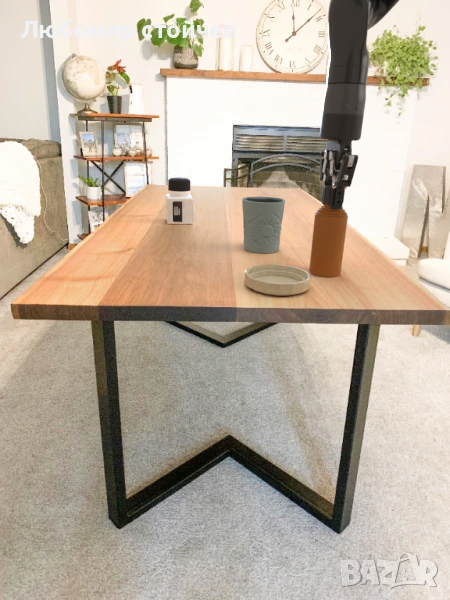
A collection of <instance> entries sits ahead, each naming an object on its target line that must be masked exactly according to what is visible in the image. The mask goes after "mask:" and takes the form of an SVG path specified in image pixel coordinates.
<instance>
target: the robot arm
mask: <svg viewBox="0 0 450 600" xmlns="http://www.w3.org/2000/svg"><path fill="white" fill-rule="evenodd" d="M399 1H400V0H329V7H328V12H327V32H328V33H327V35H328V36H327V37H328V39H327V40H328V51H329V56H328V57H329V59H328V65H327V72H326V73H327V75H326V84H325V90H324V94H323V100H322V106H321V107H322V108H321V117H320V127H319V138H320V139H321V140H325V141H326V140H327V142H326V147H325V150H320V151H319V181H320V182H322V186H323V187H324V186H325V185H332V188H333V189H332V193H331V201H330V208H332V209H341V208H342V207H343V204H344V202H343V196H344V197H345V194H344V189H345V190H347V188H351V186H352V182H353V178H354V176H355V172H356V169H357V165H358V161H359V155H358V154H353V153H352V152H353V150H352V149H353V148H352V147H353V146H352V145H353V144H352V142H353V141H356V142H357V141H359V140H361V138H362V131H363V124H364V123H363V122H364V115H365V110H366V109H365V108H366V100H367V83H368V74H369V68H370V52H369V49H368V45H367V44H368V43H367V41H368V32H369V30H371V29H372V28H374V27H375V26H376V25H377V24H378V23H379V22H381V21H382V20H383V19H384V18H385V17H386V16H387V15H388V13H390V11H392V9H393V8H394V7H395V6H397V4H398V3H399ZM322 190H324V188H323V189H322ZM322 199H323V197H322ZM321 204H322V206H324V204H325V203H323V201H322V200H321Z"/></svg>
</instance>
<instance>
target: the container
mask: <svg viewBox="0 0 450 600" xmlns="http://www.w3.org/2000/svg"><path fill="white" fill-rule="evenodd" d="M167 190H168V191H167V193H166V194H165V218H166V219H165V220H166V224H167V225H193V224H194V198H193V196H192V195H191V180H190V179H189V178H187V177H179V176H178V177H176V176H175V177H171V178H169V179H168V180H167Z"/></svg>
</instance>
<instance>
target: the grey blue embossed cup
mask: <svg viewBox="0 0 450 600" xmlns="http://www.w3.org/2000/svg"><path fill="white" fill-rule="evenodd" d="M285 203H286V200H285V199H284V198H281V197H273V196H245V197H243V198H242V199H241V205H242V223H243V224H242V225H243V249H244V251H247V252H249V253H253V254H274V253H277V252H278V251H279V250H280V244H281V233H282V232H281V231H282V225H283V220H284V219H283V218H284V212H285Z"/></svg>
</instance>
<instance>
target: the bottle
mask: <svg viewBox="0 0 450 600" xmlns="http://www.w3.org/2000/svg"><path fill="white" fill-rule="evenodd" d="M348 219H349V215H348V213H347V212H346V210H345V209H344V207H343V206H342V208H341V209H332V208H330V204H326V203H325V204H324V205H321V206H320V207H319V208H318V210H316V212H315V213H314V220H313V228H312V229H313V230H312V231H313V232H312V239H311V249H310V261H309V272H308V273H309V274H311V275H313V276H316V277H317V276H318V277H323V278H335V277H339V276H340V275H341V273H342V268H343V267H342V266H343V258H344V251H345V250H344V249H345V242H346V234H347V226H348Z"/></svg>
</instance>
